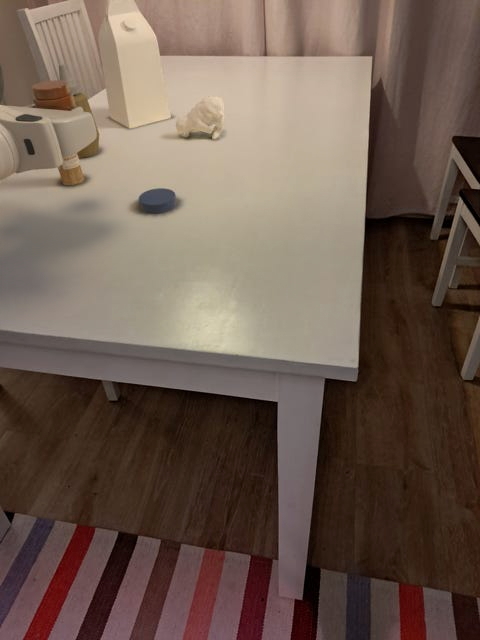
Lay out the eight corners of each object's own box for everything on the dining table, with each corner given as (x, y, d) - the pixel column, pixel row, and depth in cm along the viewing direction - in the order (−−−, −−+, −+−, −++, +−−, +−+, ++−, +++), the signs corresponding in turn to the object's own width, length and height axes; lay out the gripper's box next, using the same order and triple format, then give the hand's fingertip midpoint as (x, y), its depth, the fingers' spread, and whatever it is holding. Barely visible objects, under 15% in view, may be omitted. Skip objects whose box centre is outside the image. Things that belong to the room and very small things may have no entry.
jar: (41, 148, 78) (21, 86, 71) (70, 137, 81) (54, 77, 75) (63, 155, 75) (44, 92, 68) (92, 143, 78) (77, 82, 72)
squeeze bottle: (73, 147, 108) (49, 61, 97) (107, 146, 108) (87, 59, 96) (62, 161, 102) (34, 70, 91) (97, 160, 102) (75, 69, 90)
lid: (177, 212, 82) (175, 202, 81) (140, 216, 82) (138, 206, 80) (176, 195, 87) (174, 186, 86) (141, 199, 87) (139, 190, 85)
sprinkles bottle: (78, 187, 92) (58, 116, 83) (57, 185, 93) (35, 115, 84) (88, 177, 95) (70, 108, 86) (68, 176, 96) (48, 107, 87)
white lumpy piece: (222, 99, 102) (169, 107, 103) (228, 138, 108) (178, 145, 109) (223, 91, 107) (172, 99, 108) (228, 128, 112) (180, 135, 113)
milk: (150, 108, 129) (132, -6, 112) (171, 117, 121) (155, -3, 104) (110, 118, 124) (85, 0, 107) (129, 128, 116) (105, 4, 99)
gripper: (-47, 155, 70) (15, 125, 80) (67, 169, 64) (119, 135, 74) (-66, 111, 66) (2, 85, 76) (53, 122, 60) (110, 92, 70)
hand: (60, 110), depth 75 cm, fingers closed on jar, 6 cm apart
